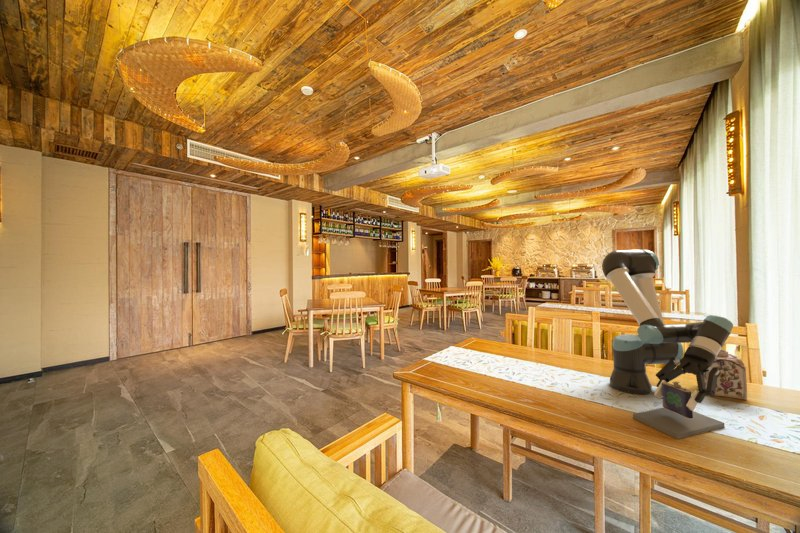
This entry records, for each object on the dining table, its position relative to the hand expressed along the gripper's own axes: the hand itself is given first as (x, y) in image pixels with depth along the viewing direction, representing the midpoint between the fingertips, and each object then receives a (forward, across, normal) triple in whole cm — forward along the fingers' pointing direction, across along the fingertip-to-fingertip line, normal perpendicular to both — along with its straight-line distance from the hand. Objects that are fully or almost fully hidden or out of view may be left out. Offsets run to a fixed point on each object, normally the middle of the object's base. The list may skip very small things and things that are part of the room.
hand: (672, 402), depth 103 cm
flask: (+1, 0, -4) cm, 5 cm away
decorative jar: (-27, +11, -38) cm, 48 cm away
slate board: (+4, 0, -7) cm, 8 cm away
